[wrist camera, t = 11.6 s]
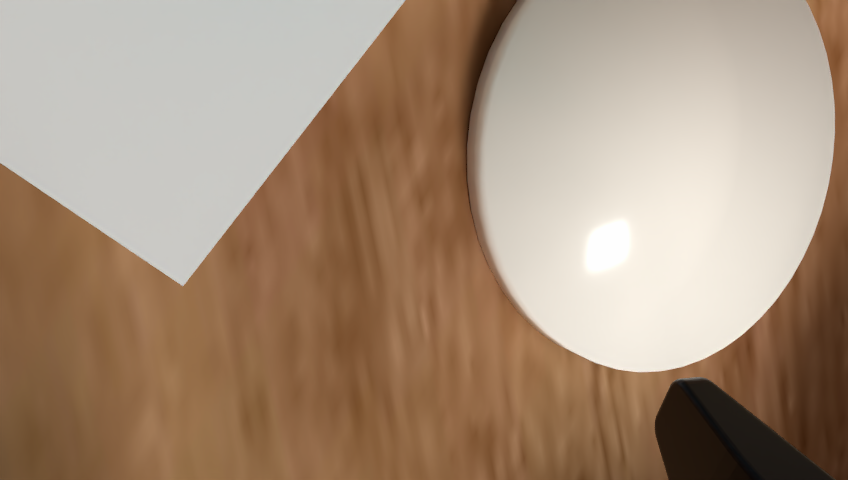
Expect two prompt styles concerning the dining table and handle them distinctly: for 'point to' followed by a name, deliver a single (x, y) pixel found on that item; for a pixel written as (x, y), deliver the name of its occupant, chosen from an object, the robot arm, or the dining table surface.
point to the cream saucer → (649, 169)
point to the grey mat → (168, 106)
